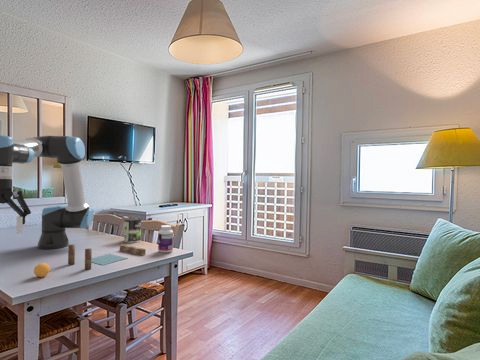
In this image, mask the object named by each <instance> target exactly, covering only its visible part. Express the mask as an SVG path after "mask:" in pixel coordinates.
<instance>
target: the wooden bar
mask: <svg viewBox="0 0 480 360" xmlns="http://www.w3.org/2000/svg"><path fill="white" fill-rule="evenodd" d="M119 251H120V252H124V253H125V252H126V253H130V254H134V255H138V256H145V255H146V251H147V250H146V248H141V247H138V246H137V247H136V246H132V245H127V244H119Z"/></svg>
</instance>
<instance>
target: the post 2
mask: <svg viewBox="0 0 480 360" xmlns="http://www.w3.org/2000/svg"><path fill="white" fill-rule="evenodd" d="M92 249H93V248H89V247H88V248H85V249H84V271H89V270H90V271H91V269H92V262H91V258H93V257H92V251H93V250H92Z"/></svg>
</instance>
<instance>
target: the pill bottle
mask: <svg viewBox="0 0 480 360" xmlns="http://www.w3.org/2000/svg"><path fill="white" fill-rule="evenodd" d="M157 241H158V245H157V247H158V248H157V249H158V250H157V251H158V252H159V253H163V254H164V253H165V254H166V253H167V254H169V253H172V252H173V250H174V231H173V229H172V225H168V224H166V225H163V224H162V225H161V226H160V230H158V240H157Z"/></svg>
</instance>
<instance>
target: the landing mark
mask: <svg viewBox="0 0 480 360" xmlns="http://www.w3.org/2000/svg"><path fill="white" fill-rule="evenodd" d="M127 259H128V257H124V256H121V255H117V254H113V253H112V254H111V253H108V254H103V255H100V256H95V257H91V264H92V263H93V264H95V265H99V266H105V265H106V266H107V265H109V264H112V263H116V262H117V263H118V262H120V261H123V260H127Z"/></svg>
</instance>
